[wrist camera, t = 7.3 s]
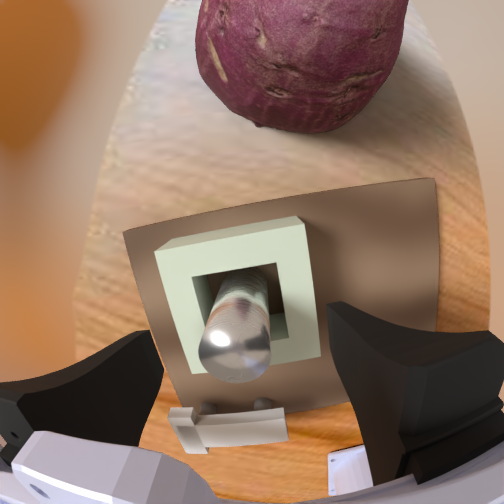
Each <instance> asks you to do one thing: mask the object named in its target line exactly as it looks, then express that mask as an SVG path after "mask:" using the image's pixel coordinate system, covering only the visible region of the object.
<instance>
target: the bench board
mask: <svg viewBox="0 0 504 504" xmlns="http://www.w3.org/2000/svg"><path fill="white" fill-rule="evenodd" d="M291 216H297V217H298V218H299V219H300V220H301V221H302V222H303V223H304V225H305V231H306V238H307V244H308V251H309V258H310V265H311V273H312V280H313V288H314V296H315V304H316V313H317V322H318V331H319V341H320V351H321V357H316V358H310V359H305V360H300V361H294V362H288V363H282V364H276V365H269V366H268V368H267V370H266V371H265V372H264V373H263V374H262V375H261V376H259V377H258V378H256V379H254V380H252V381H249V382H244V383H230V382H225V381H222V380H219V379H217V378H215V377H214V376H212V375H211V374H210V373H199V374H192V372H191V370H190V367H189V364H188V361H187V358H186V356H185V353H184V350H183V347H182V344H181V341H180V338H179V335H178V332H177V329H176V326H175V323H174V320H173V316H172V313H171V310H170V307H169V303H168V300H167V297H166V293H165V290H164V286H163V283H162V279H161V276H160V272H159V268H158V265H157V261H156V257H155V253H154V251H156V250H157V249H159V248H160V247H161V246H163V245H164V244H166V243H167V242H168V241H170V240H171V239H174V238H179V237H184V236H189V235H194V234H199V233H204V232H210V231H215V230H220V229H225V228H230V227H236V226H241V225H247V224H252V223H257V222H263V221H269V220H274V219H280V218H286V217H291ZM123 236H124V240H125V244H126V248H127V252H128V256H129V259H130V263H131V267H132V270H133V274H134V277H135V280H136V284H137V287H138V290H139V294H140V297H141V300H142V303H143V306H144V309H145V312H146V315H147V318H148V321H149V324H150V327H151V330H152V333H153V335H154V338H155V341H156V344H157V346H158V349H159V352H160V354H161V357H162V359H163V362H164V365H165V367H166V370H167V372H168V374H169V377H170V379H171V382H172V384H173V386H174V389H175V391H176V393H177V396H178V398H179V400H180V403H181V405H182V407H183V408H171V409H170V411H169V414H168V417H167V418H168V420H169V422H170V424H171V426H172V428H173V430H174V432H175V433H176V435H177V437H178V439H179V441H180V442H181V444H182V446H183V448H184V449H185V451H186V453H187V454H208V451H209V447H228V446H244V445H256V444H266V443H275V442H282V441H289V438H288V429H287V424H286V418H285V414H288V413H295V412H301V411H306V410H312V409H317V408H322V407H327V406H332V405H336V404H341V403H345V402H350V399H349V397H348V395H347V393H346V390H345V388H344V386H343V384H342V381H341V379H340V377H339V375H338V372H337V370H336V368H335V365H334V361H333V358H332V354H331V351H330V345H329V333H328V322H327V311H326V304H328V303H333V302H338V301H343V302H345V303H347V304H350V305H352V306H354V307H356V308H358V309H360V310H362V311H364V312H366V313H368V314H370V315H372V316H375V317H377V318H380V319H382V320H385V321H388V322H390V323H394V324H397V325H401V326H404V327H408V328H413V329H418V330H425V331H432V332H435V328H436V318H437V305H438V287H439V231H438V213H437V200H436V189H435V180H434V178H418V179H410V180H401V181H393V182H385V183H377V184H369V185H362V186H355V187H348V188H341V189H334V190H328V191H321V192H315V193H309V194H302V195H296V196H290V197H284V198H279V199H273V200H267V201H262V202H256V203H251V204H246V205H240V206H235V207H230V208H225V209H220V210H215V211H210V212H205V213H200V214H195V215H191V216H186V217H181V218H177V219H172V220H168V221H163V222H159V223H154V224H150V225H146V226H141V227H137V228H133V229H129V230H127V231H124V232H123ZM253 267H255V268H257V269H258V270H259V271H261V272H262V273H263V275H264V276H265V278H266V281H267V286H268V304H269V315H273V314H279V313H285V311H284V305H283V299H282V293H281V287H280V281H279V275H278V269H277V264H276V262H275V263H270V264H264V265H258V266H253ZM227 272H228V271H223V272H218V273H212V274H206V275H207V279H208V283H209V287H210V291H211V295H212V299H213V303H215V300H216V297H217V294H218V292H219V289H220V286H221V284H222V281H223V278H224V276H225V275H226V273H227Z"/></svg>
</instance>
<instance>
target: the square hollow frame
mask: <svg viewBox="0 0 504 504" xmlns="http://www.w3.org/2000/svg"><path fill="white" fill-rule="evenodd" d="M154 253H155V257H156V261H157V265H158V268H159V272H160V276H161V279H162V283H163V286H164V290H165V293H166V297H167V300H168V303H169V307H170V310H171V313H172V316H173V320H174V323H175V326H176V329H177V332H178V335H179V338H180V341H181V344H182V347H183V350H184V353H185V356H186V358H187V361H188V364H189V367H190V370H191V372H192V374H199V373H208V372H207V371H206V370H205V368H204V367H203V366H202V364H201V362H200V359H199V355H198V348H199V344H200V341H201V338H202V335H203V333H204V330H205V327H206V324H207V322H208V319H209V316H210V313H211V311H212V308H213V305H214V303H213V299H212V295H211V291H210V287H209V283H208V279H207V275H206V274H212V273H218V272H223V271H229V270H235V269H241V268H247V267H253V266H258V265H264V264H270V263H275V262H276V264H277V269H278V275H279V281H280V287H281V293H282V299H283V305H284V311H285V313H279V314H273V315H269V322H270V342H271V361H270V364H269V365H276V364H282V363H288V362H294V361H300V360H305V359H310V358H316V357H321V351H320V341H319V331H318V322H317V313H316V304H315V296H314V288H313V280H312V273H311V265H310V258H309V251H308V244H307V238H306V231H305V225H304V223H303V222H302V221H301V220H300V219H299V218H298V217H297V216H291V217H286V218H280V219H274V220H269V221H263V222H257V223H252V224H247V225H241V226H236V227H230V228H225V229H220V230H215V231H210V232H204V233H199V234H194V235H189V236H184V237H179V238H174V239H171V240H170V241H168V242H167V243H166V244H164V245H163V246H161V247H160V248H159V249H157V250H156V251H154Z"/></svg>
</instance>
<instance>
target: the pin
mask: <svg viewBox="0 0 504 504" xmlns="http://www.w3.org/2000/svg"><path fill="white" fill-rule="evenodd" d="M198 355H199V359H200V362H201V364H202V366H203V367H204V368H205V370H206V371H207V372H208V373H210V374H211V375H212V376H214V377H215V378H217V379H219V380H222V381H225V382H230V383H244V382H249V381H252V380H254V379H256V378H258V377H259V376H261V375H262V374H263V373H264V372H265V371H266V370H267V368H268V366H269V364H270V361H271V342H270V322H269V304H268V286H267V281H266V278H265V276H264V275H263V273H262V272H261V271H259V270H258V269H257V268H255V267H247V268H241V269H235V270H229V271H228V272H227V273H226V275H225V276H224V278H223V281H222V284H221V286H220V289H219V292H218V294H217V297H216V300H215V303H214V305H213V308H212V311H211V313H210V316H209V319H208V322H207V324H206V327H205V330H204V333H203V335H202V338H201V341H200V344H199V348H198Z"/></svg>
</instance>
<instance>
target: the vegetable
mask: <svg viewBox="0 0 504 504" xmlns="http://www.w3.org/2000/svg"><path fill="white" fill-rule="evenodd" d="M408 1H409V0H202V3H201V6H200V10H199V16H198V22H197V29H196V37H195V45H196V49H195V51H196V59H197V64H198V68H199V72H200V75H201V77H202V78H203V80H204V82H205V83H206V84H207V85H208V87H209V88H210V89H211V90H212V91H213V92H214V94H215V95H216V96H217V97H218V98H219V99H220V100H221V101H222V102H223V103H224V104H225V105H226V106H227V108H228V109H229V110H231V111H232V112H234V113H236V114H238V115H240V116H243V117H245V118H246V119H248V120H251V121H252V122H253V123H254V124H255V126H256V127H259V126H268V127H272V128H276V129H280V130H285V131H292V132H300V133H307V134H311V133H320V132H326V131H330V130H334V129H336V128H338V127H340V126H342V125H344V124H345V123H347V122H348V121H349V120H351V119H352V118H353V117H354V116H355V115H356V114H358V113H359V112H360V111H361V110H362V109H363V108H364V107H365V106H366V105H367V103H368V102H369V101H370V100H371V99H372V97H373V96H374V95H375V94H376V92H377V91H378V90H379V88H380V87H381V86H382V85H383V83H384V82H385V81H386V79H387V78H388V76H389V75H390V73H391V70H392V68H393V66H394V64H395V61H396V59H397V57H398V54H399V50H400V46H401V42H402V36H403V29H404V19H405V15H406V10H407V5H408Z"/></svg>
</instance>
